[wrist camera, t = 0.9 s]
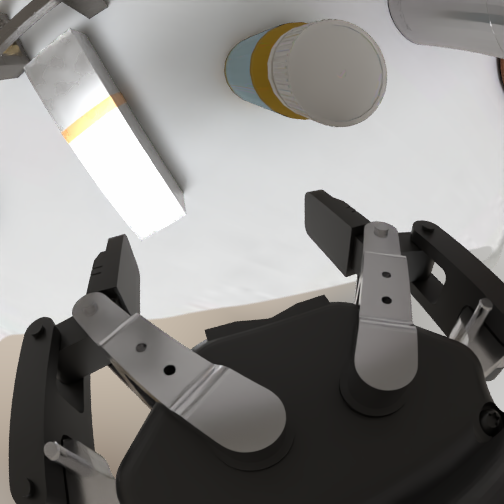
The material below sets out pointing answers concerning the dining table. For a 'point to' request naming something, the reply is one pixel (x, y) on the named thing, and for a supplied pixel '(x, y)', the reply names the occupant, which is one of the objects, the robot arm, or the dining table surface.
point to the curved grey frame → (8, 31)
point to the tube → (105, 133)
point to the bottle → (310, 72)
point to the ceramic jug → (502, 68)
